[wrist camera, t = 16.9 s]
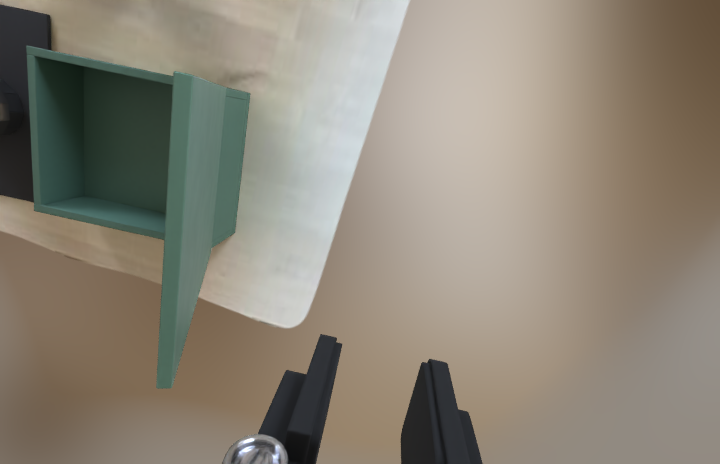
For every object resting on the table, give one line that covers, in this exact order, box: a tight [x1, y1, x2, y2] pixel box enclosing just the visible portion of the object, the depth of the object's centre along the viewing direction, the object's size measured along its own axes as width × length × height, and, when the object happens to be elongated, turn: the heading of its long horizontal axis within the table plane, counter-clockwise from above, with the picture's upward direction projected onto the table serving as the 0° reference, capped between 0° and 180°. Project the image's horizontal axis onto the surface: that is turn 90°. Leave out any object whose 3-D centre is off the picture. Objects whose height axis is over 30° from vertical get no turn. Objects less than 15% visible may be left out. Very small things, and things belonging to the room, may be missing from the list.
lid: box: [156, 71, 226, 388], centre depth 28 cm, size 20×17×1 cm
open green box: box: [26, 46, 250, 248], centre depth 41 cm, size 20×17×7 cm
